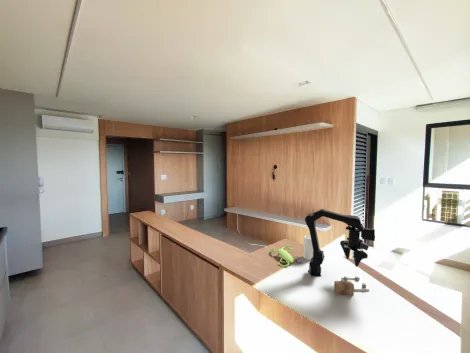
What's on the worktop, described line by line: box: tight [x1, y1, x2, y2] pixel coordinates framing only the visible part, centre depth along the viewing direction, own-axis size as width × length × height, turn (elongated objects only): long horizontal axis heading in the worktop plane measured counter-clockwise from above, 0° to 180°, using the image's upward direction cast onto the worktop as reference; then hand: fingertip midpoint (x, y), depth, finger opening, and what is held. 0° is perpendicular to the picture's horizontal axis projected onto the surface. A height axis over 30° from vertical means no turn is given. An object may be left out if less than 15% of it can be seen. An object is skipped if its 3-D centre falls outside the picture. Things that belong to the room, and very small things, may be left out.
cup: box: [302, 234, 313, 261], centre depth 162 cm, size 8×8×16 cm
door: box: [333, 280, 355, 296], centre depth 121 cm, size 10×4×6 cm, turn 90°
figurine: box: [269, 244, 302, 268], centre depth 162 cm, size 18×27×6 cm
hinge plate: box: [340, 276, 370, 292], centre depth 128 cm, size 11×10×3 cm
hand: (351, 262), depth 130 cm, fingers open, 9 cm apart
